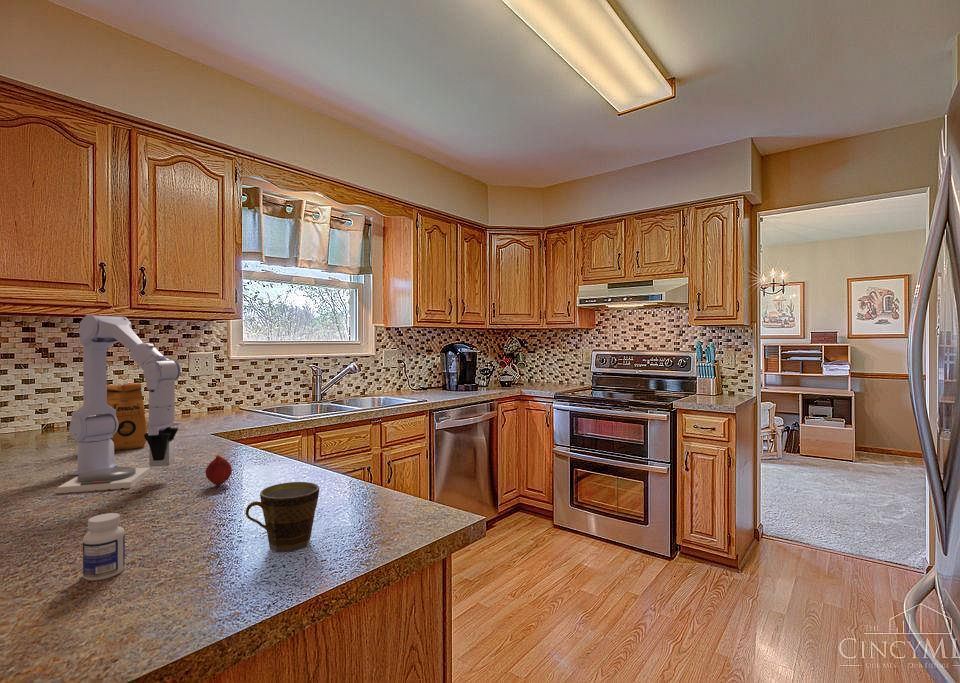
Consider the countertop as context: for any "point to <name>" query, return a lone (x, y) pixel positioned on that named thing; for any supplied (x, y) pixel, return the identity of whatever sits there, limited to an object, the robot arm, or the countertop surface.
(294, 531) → the ceramic cup
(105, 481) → the kitchen scale
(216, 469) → the onion
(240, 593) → the countertop surface
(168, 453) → the block
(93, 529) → the pill bottle
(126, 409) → the coffee package
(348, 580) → the countertop surface
